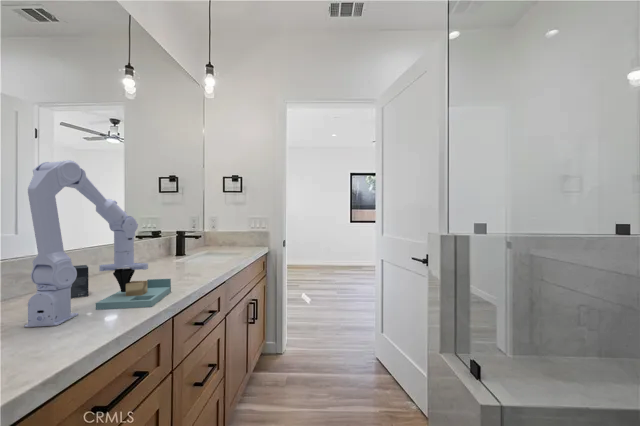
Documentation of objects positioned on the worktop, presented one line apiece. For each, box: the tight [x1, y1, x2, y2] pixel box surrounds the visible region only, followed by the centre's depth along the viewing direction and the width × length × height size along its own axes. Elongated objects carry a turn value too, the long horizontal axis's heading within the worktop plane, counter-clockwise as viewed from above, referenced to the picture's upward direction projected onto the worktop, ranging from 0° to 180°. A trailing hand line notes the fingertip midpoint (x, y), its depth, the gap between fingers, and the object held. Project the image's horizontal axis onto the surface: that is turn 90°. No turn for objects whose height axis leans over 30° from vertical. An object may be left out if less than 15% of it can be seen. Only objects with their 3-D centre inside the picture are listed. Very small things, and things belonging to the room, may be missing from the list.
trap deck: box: [95, 278, 172, 311], centre depth 110 cm, size 20×16×5 cm
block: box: [126, 279, 148, 296], centre depth 110 cm, size 5×5×4 cm
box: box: [71, 264, 89, 299], centre depth 118 cm, size 8×6×11 cm
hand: (124, 291), depth 110 cm, fingers closed
